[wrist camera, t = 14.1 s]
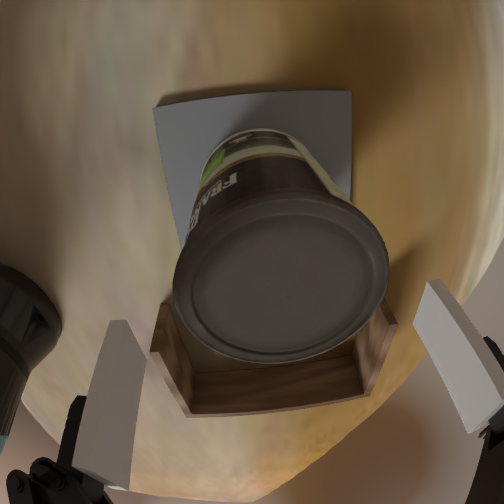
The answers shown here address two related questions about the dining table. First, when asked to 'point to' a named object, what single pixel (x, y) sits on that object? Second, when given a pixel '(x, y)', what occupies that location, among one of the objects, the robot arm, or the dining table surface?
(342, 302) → the coffee can
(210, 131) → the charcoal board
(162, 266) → the dining table surface
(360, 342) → the walnut u-shaped frame
